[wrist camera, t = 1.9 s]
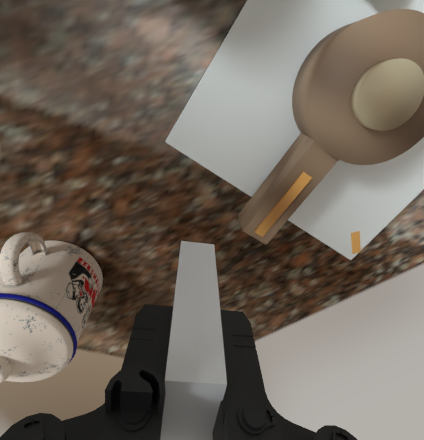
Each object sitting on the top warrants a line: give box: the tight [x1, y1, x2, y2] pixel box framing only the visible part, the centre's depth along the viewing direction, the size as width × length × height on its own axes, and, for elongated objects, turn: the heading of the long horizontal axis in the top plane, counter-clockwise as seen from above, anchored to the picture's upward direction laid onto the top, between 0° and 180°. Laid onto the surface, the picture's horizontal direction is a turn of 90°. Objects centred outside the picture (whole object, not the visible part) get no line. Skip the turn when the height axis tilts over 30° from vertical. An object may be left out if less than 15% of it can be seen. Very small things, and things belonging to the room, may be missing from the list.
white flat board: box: [165, 0, 424, 260], centre depth 22 cm, size 22×20×4 cm
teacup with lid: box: [0, 232, 103, 383], centre depth 24 cm, size 12×9×12 cm
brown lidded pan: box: [238, 9, 424, 245], centre depth 21 cm, size 18×9×5 cm, turn 146°
